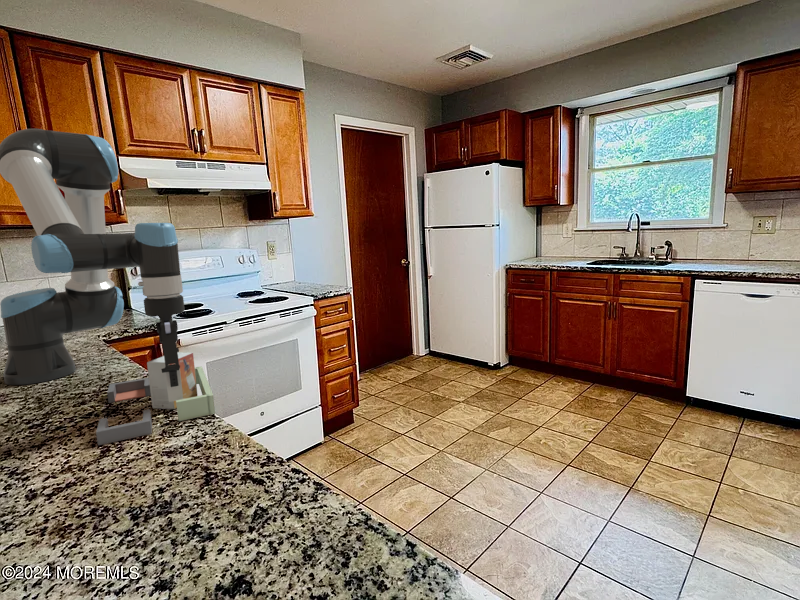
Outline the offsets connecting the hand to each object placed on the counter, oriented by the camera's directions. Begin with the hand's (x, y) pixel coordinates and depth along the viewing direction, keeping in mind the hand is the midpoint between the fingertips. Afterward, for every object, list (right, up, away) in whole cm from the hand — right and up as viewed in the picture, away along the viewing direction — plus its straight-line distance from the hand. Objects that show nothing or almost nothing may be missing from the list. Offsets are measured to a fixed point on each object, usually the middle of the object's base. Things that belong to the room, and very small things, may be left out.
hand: (174, 390), depth 97 cm
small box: (0, -3, 0) cm, 3 cm away
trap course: (-3, -3, -1) cm, 4 cm away
